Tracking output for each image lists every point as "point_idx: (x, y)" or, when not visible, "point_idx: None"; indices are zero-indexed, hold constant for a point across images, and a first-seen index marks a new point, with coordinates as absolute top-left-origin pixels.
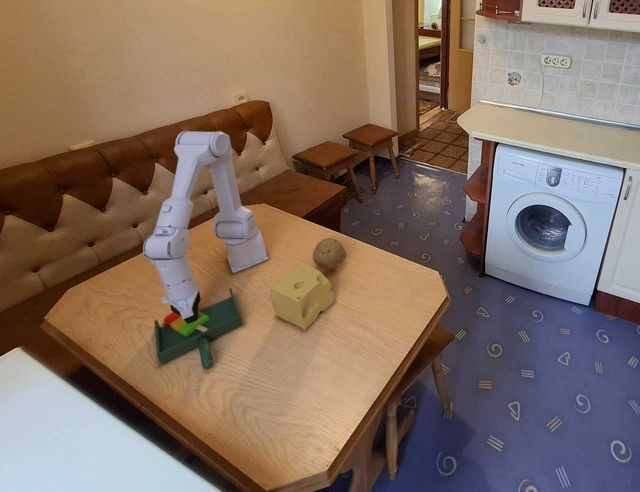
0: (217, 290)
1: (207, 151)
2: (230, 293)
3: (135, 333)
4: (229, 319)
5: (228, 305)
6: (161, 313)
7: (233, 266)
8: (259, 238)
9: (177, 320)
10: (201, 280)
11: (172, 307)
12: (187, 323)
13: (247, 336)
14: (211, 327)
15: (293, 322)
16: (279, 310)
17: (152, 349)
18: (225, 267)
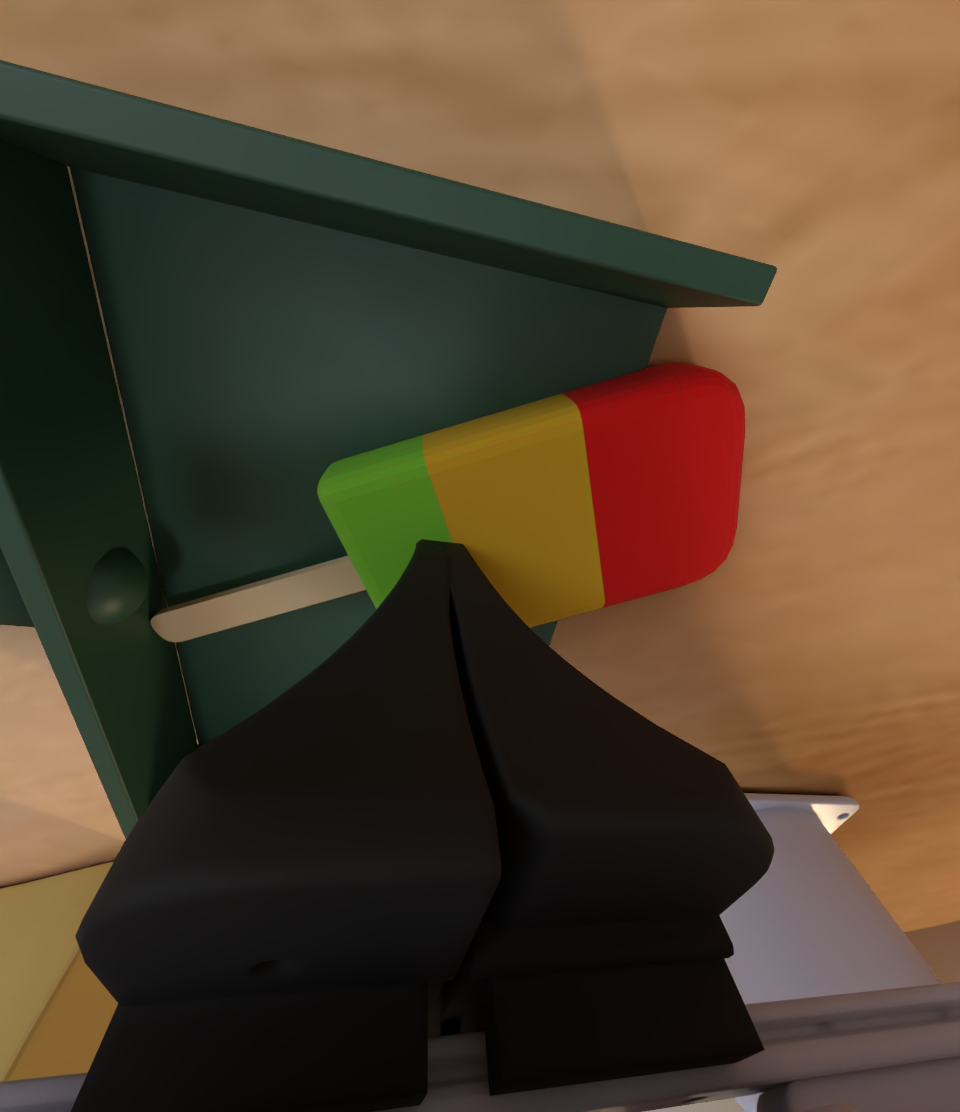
0: (661, 712)
1: None
2: None
3: (900, 18)
4: (127, 803)
5: None
6: (868, 373)
7: (757, 811)
8: (746, 1103)
9: (563, 479)
10: (862, 672)
11: (262, 905)
12: (421, 540)
13: (57, 738)
14: (297, 625)
15: (6, 901)
16: (10, 977)
17: (420, 119)
18: (806, 773)
